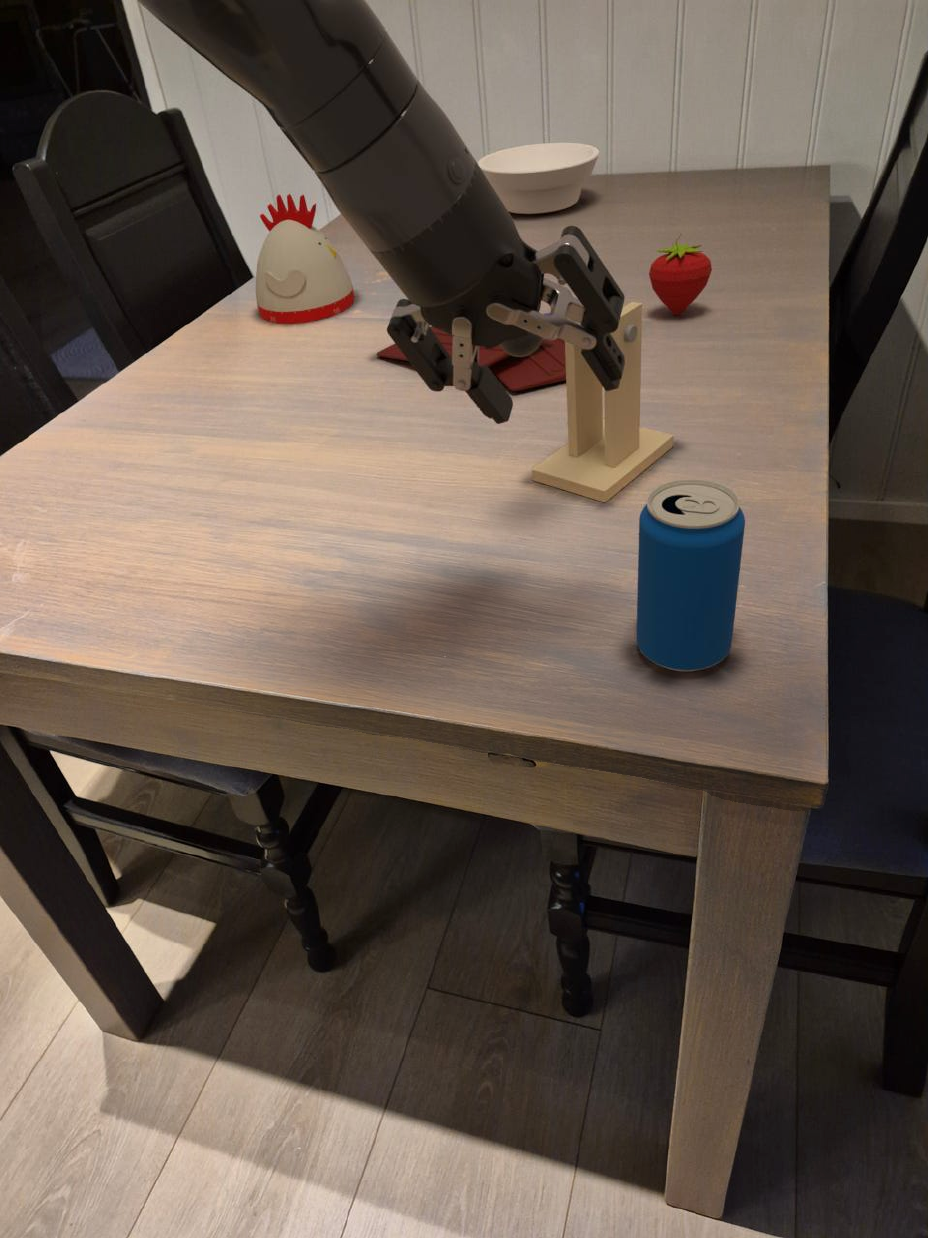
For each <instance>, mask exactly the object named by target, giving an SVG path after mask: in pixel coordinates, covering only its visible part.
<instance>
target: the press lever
mask: <svg viewBox="0 0 928 1238" xmlns="http://www.w3.org/2000/svg"><path fill="white" fill-rule="evenodd" d="M575 323H577V324H579V325H581V323H578V322H575ZM543 339H544V338H542V337H540V336H537V335H535V334H533V333H531V332H529V335H527V336H525V337H522V338H519V339H512V340H505V341H504V342H502V343H501V344H500V347H501V348H502V349H503V350H504V351H505V352H506V353H507V354H509V355H511V356H515V357H525V356H528V355H530V354H532V353H533V352H535V351H536V350H537V349H538V347H539V346H540V344H541V342H542V340H543Z"/></svg>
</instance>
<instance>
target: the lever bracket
mask: <svg viewBox="0 0 928 1238" xmlns="http://www.w3.org/2000/svg"><path fill="white" fill-rule="evenodd" d="M566 318H567V317H566ZM567 319H568V320H570V321H573V322H576V321H574V320H572V319H569V318H567ZM642 331H643V302H636V301H631V302H630V303H628V304H626V305H625V306H623V308H622V312H621V316H620V321H619V325H618V328H617V330H616V331H615V332H612V333H610V334H611V335H612V337H613V339H614V340H615V342H616V343H617V346H618V347H619V348H620V350H621V352H622V353H623V355H624V357H625V365H624V370H623V374H622V379H620V384H619V387H618V388H617V389H614V390H611V391H606V390H605V389H604V388H603V386H602V385H601V383H600V382H599V380H598V379H597V377H596V375H595V374H594V372H593V371H592V369H591V368H590V366H589V365H588V363H587V362H586V360H585V359H584V357H583V356H582V354H581V350H582V348H579V347H577V346H575V345H573V344H570V343H568V342H566V341H565V357H566V380H565V381H566V382H565V384H566V412H567V443H566V444H564V445H563V446H562V447H560V448H559V449H557V450H556V451H555V452H553V453H552V454H550V455H549V456H548V457H547V458H545V459H544V460H542V461H541V462H540V463H539V464H537V465H535V466H534V467H532V469H531V476H532V481H534V482H537V483H540V484H544V485H547V486H549V487H553V488H557V489H560V490H563V491H566V492H570V493H573V494H576V495H579V496H583V497H584V498H585V497H586V498H588V499H591V500H592V499H593V500H595V501H598V502H601V503H604V504H605V503H607V502H608V501H609V500H610V499H612V498H613V497H614V496H615V495H616V494H618V493H619V492H620V491H621V490H622V489H623V488H625V487H626V486H627V485H629V484H630V483H631V482H632V481H633V480H635V479H636V478H637V477H638V476H639V475H641V474H642V473H643V472H644V471H645V470H647V469H648V468H649V467H650V466H651V465H653V464H654V463H655V462H656V461H658V460H659V459H660V458H661V457H662V456H664V454H665V453H668V451H670V449H672V448H673V447H674V444H675V443H674V442H675V435H674V434H671V433H667V432H664V431H660V430H655V429H651V428H648V427H643V426H641V387H642V386H641V384H642V383H641V382H642V380H641V379H642V339H643V338H642ZM603 389H604V391H603ZM603 392H604V393H603ZM603 395H604V396H603ZM603 399H604V400H603ZM603 401H604V403H603ZM603 409H604V410H603Z"/></svg>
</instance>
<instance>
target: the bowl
mask: <svg viewBox="0 0 928 1238" xmlns="http://www.w3.org/2000/svg"><path fill="white" fill-rule="evenodd" d="M599 156H600V151H599V149H598V148H597V147H595V146H593V145H590V144H586V143H579V142H545V143H544V142H543V143H534V144H527V145H520V146H515V147H514V146H513V147H509V148H506V149H502V150H498V151H494V152H491V153H489V154H488V155H485V156H483V157H481V158H480V159H479V160H478V161H477V164H478V165H479V167H480V168H481V170H482V171H483V173H484V174H485V176H486V178H487V179H488V181H489V182H490V184H491V186H492V187H493V189H494V190H495V192H496V193H497V195H498V196H499V198H500V200H501V201H502V203H503V204H504V206H505V207H506V209H507V211H508V212H509V213H514V214H522V215H523V214H525V215H533V214H534V215H535V214H544V213H545V214H546V213H552V212H556V211H561V210H565V209H567V208H569V207H572V206H573V205H576V204H577V203H578V202H579V200H580V196H581V192H582V189H583V185H584V180H586V179H588V178H589V177H590V176H592V174H593V172H594V169H595V166H596V163H597V161H598V158H599Z"/></svg>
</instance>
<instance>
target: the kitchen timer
mask: <svg viewBox="0 0 928 1238" xmlns="http://www.w3.org/2000/svg"><path fill="white" fill-rule="evenodd" d="M298 203H299V205H298V209H297V206H296V204H295V202H294V199H293V197H292V195H291V193H288V194H287V195H286V205H287V206H286V205H285V203H284V200H283V198H282V195H281V194H280V193H279V194H277V195H276V208H275V207H274V205H273V204H272V203H269V204H268V205H267V210H268V212H269V215H270V217H271V220H272V221H271V220H270V219H268V217H267V216H266V215H265V214H264V213H261V214H259V218H260V220H261V221H262V223H263V225H264V226H265V228H266V229H267V231H268V233H267V235H266V237H265V239H264V241H263V243H262V246H261V248H260V251H259V254H258V258H257V263H256V272H255V273H256V274H255V300H256V305H257V310H258V313H259V316H260V317H261V319H263V320H265V321H267V322H269V323H274V324H284V325H285V324H286V325H287V324H290V325H291V324H292V325H293V324H303V323H304V324H305V323H310V322H315V321H319V320H324V319H327V318H331V317H333V316H335V315H338V314H340V313H342V312H344V311H346V310H347V309H349V308H350V307H352V305H353V304H354V303H355V293H354V288H353V282H352V280H351V277H350V275H349V272H348V269H347V268H346V267H345V264H344V262H343V260H342V258H341V256H340V254H339V253H338V251H337V249H336V247H334V245H333V243H332V242H331V241H330V240H329V239H328V238H327V237H326V236H325V235H324V234H323V233H322V232H321V231H320V230H319V229H318V228H317V227H316V226H314V225H313V224H314V220H315V215H316V211H317V203H314V204H312V206H311V208H310V210H309V209H308V206H307V205H308V204H307V201H306V196H305V194H301V195H300V196H299V202H298Z"/></svg>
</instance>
